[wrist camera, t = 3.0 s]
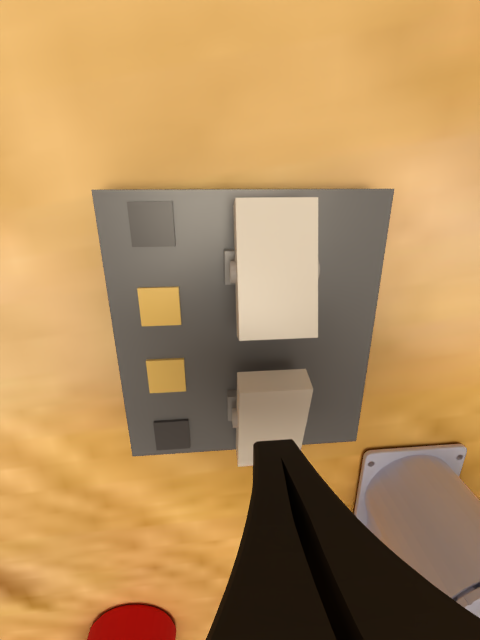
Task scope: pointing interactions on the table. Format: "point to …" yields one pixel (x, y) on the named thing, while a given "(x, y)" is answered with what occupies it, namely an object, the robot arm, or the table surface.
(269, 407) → the rocker
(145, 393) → the switch unit
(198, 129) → the table surface
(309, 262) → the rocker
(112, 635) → the soda can
